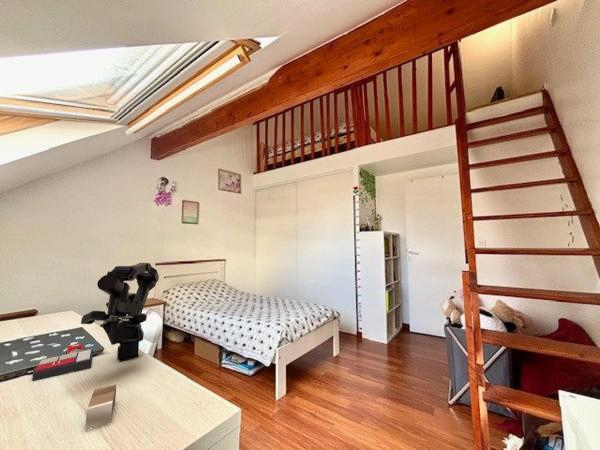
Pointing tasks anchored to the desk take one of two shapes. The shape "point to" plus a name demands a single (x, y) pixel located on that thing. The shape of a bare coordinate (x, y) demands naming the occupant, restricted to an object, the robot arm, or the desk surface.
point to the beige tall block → (101, 407)
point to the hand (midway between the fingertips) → (113, 344)
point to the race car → (74, 348)
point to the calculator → (63, 365)
